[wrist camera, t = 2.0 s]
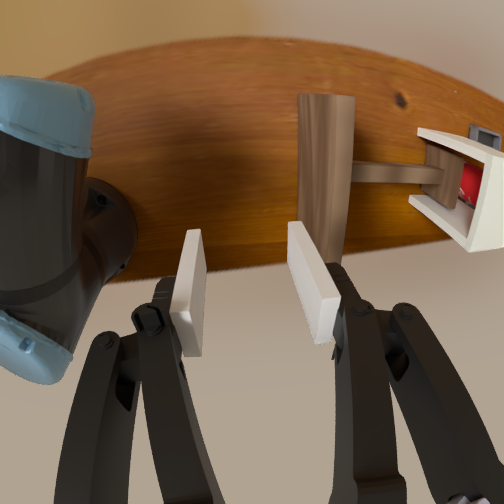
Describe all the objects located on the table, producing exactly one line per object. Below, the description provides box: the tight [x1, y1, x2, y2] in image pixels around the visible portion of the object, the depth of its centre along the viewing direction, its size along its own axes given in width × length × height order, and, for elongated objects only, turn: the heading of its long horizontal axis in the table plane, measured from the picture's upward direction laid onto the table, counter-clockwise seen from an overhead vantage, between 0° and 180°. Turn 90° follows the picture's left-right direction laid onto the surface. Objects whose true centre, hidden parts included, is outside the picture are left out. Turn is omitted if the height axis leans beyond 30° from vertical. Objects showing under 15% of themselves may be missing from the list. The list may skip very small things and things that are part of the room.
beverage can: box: [458, 161, 484, 207], centre depth 29 cm, size 5×5×12 cm
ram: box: [297, 94, 465, 265], centre depth 28 cm, size 20×17×12 cm
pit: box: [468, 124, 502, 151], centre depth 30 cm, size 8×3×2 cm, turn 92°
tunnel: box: [409, 127, 504, 253], centre depth 27 cm, size 10×11×14 cm
